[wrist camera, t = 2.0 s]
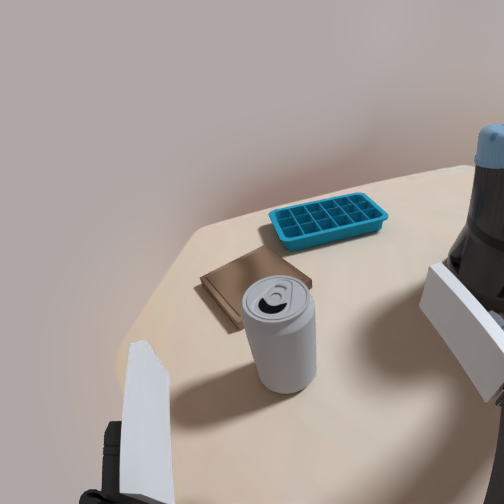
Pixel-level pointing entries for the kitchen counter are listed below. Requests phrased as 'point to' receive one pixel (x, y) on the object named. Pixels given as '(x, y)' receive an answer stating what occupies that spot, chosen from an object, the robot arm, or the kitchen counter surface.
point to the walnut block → (246, 279)
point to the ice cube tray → (327, 220)
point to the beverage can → (281, 332)
